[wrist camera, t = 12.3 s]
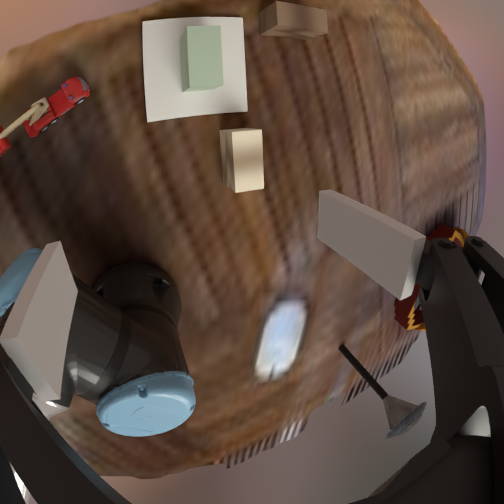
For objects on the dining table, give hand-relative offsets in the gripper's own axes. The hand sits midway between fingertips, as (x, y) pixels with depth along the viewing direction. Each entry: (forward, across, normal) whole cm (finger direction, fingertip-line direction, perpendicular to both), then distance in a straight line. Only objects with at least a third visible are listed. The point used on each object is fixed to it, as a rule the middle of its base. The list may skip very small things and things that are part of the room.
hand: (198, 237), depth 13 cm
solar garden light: (+29, -37, +52) cm, 70 cm away
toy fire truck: (+29, +15, -10) cm, 34 cm away
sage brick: (+28, -6, -13) cm, 31 cm away
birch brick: (+29, -11, +1) cm, 31 cm away
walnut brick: (+29, -20, -20) cm, 40 cm away
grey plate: (+29, -6, -13) cm, 32 cm away
